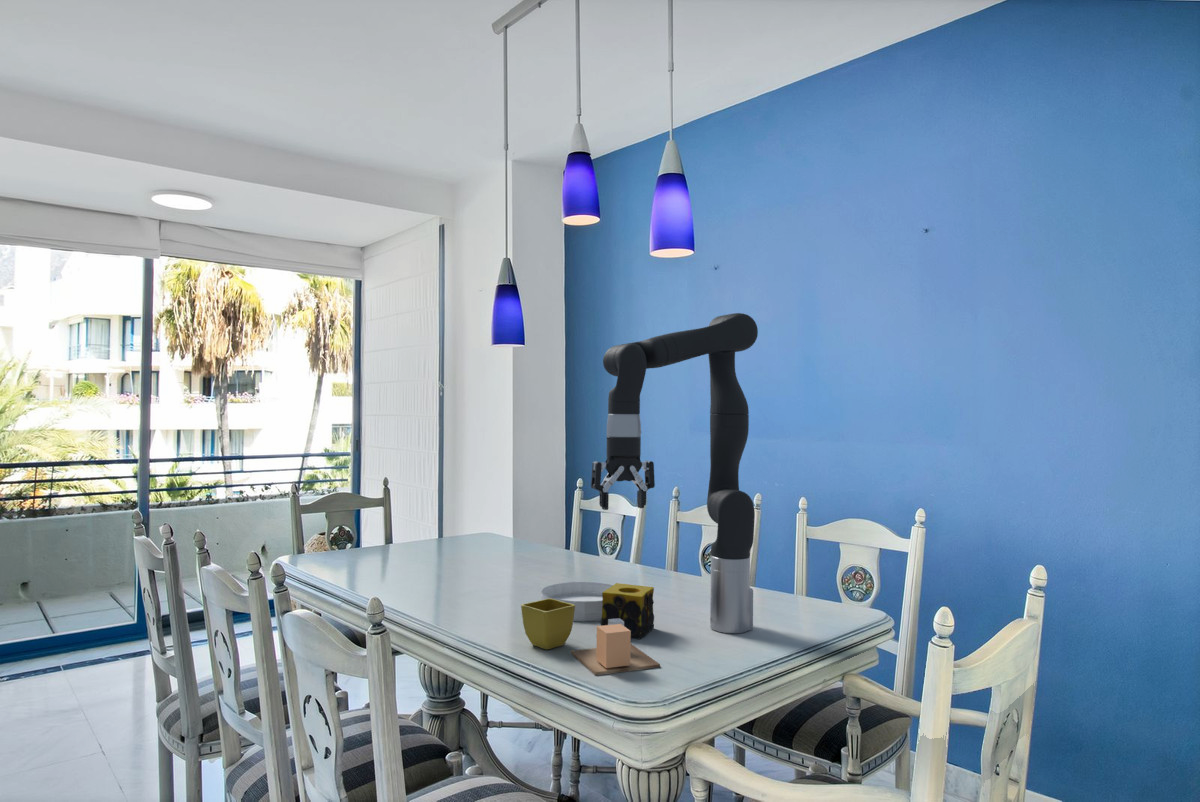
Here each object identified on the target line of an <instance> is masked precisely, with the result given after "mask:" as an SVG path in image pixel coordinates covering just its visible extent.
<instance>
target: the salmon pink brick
mask: <svg viewBox="0 0 1200 802" xmlns="http://www.w3.org/2000/svg"><path fill="white" fill-rule="evenodd" d="M631 639H632V638H631V631H630V630H629V629H627V628H626V627H624V626H623V625H621V624H614V625H604V626H601V625H596V648H597V653H596V660H597V661H598V662H599V663H601V664H602V665H603V666H604V667H605V668H612V667H620V666H628V665H630V651H631V644H632V643H631Z"/></svg>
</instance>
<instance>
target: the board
mask: <svg viewBox="0 0 1200 802" xmlns="http://www.w3.org/2000/svg"><path fill="white" fill-rule="evenodd" d="M570 652H571V653H570V654H571V655H572V656H573V657H574V658H576V659H577V661H579V663H581V664H582V665H583V666H584V667H585V668H586V669H588V671H589V672H590V673H592V674H593V675H594V676H603V675H609V674H617V673H626V672H634V671H641V670H647V669H657V668H660V667H661V663H659V662H658V661H656V660H655V659H653V658H652V657H650V656H649V655H648V654H647V653H645V652H643V651H642V650H640V649H639V648H638V647H637V646H636V645H633V644H632V643H631V651H630V665H628V666H620V667H612V668H605V667H604V666H603V665H602V664H601V663H599V662H598V661H597V660H596V653H597V647H594V648H584V649H575V650H571V651H570Z"/></svg>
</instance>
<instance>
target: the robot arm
mask: <svg viewBox="0 0 1200 802" xmlns="http://www.w3.org/2000/svg"><path fill="white" fill-rule="evenodd" d="M758 329H759V328H758V325H757V322H756V321H755V320H754V318H753V317H752V316H750V315H749V314H746V313H742V312H735V313H728V314H723V315H719V316H716V317H714V318H713V319H712V320H711V321H710V322H709V325H708V326H703V327H701V328H693V329H688V330H687V329H686V330H682V331H674V332H670V333H669V332H668V333H664V334H660V335H657V336H654V337H650V338H647V339H644V340H641V341H634V342H633V341H632V342H629V343H623V344H617V345H614V346H611V347H610V348H608V349H607V350H606V352H605V353H604V355H603V357H602V358H603V359H602V365H603V367H604V369H605V371H606V372H607V373H608V374H609V375H611V376H613V377H617V378H616V384H615V386H614V387H613V388H612V389H610V390H609V392H608V399H607V401H608V404H607V405H608V406H607V408H608V409H607V423H606V460H605V462H604V461H603V462H601V461H596V460H595V461H593V462H592V463H591V464H592V466H591V480H590V481H591V482H590V487H591V489H593V490H596V491H598V493H599V501H598V502H599V506H600V507H601V510H604V511H608V510H609V502H610V501H609V500H610V499H609V497H610V495H609V492H608V491H609V490H610V488H611V486H612V485H614V484H615V483H616V482H623V481H625V482H632V483H633V484H634V485H635V487H636V488H637V489H638V490H637V491H636V495H637V496H636V507H637V508H638V509H644V508H645V506H646V505H647V492H648V490H650V489H654V488H655V486H656V484H655V483H656V481H655V463H654V461H652V460H645V461H641V455H642V453H641V450H642V449H641V446H642V443H641V442H642V441H641V440H642V439H641V438H642V422H641V415H640V414H641V413H640V411H641V393H642V390H643V386H644V381H645V377H646V372H647V369H648V370H649V369H658V368H659V369H660V368H664V367H667V366H670V365H674V364H678V363H682V362H684V361H687V360H688V361H689V360H691V359H695V358H698V357H700V356H705V355H708V364H709V374H710V375H709V377H710V379H709V383H710V384H709V385H710V386H709V388H710V390H709V391H710V392H709V393H710V404H709V405H710V408H709V409H710V410H709V433H710V434H709V435H710V437H709V438H710V441H709V443H710V445H709V446H710V447H709V449H710V450H709V459H710V467H709V469H710V470H709V471H710V472H709V481H708V491H707V499H706V501H707V502H706V509H707V514H708V515H709V517H710V519H711V520H712V521H713V522H714V523H715V524H717V531H716V532H717V535H716V539H715V541H714V542H712V543H711V544H710V545H711V546H710V611H709V614H710V619H709V622H710V625H709V627H710V629H711V630H713V631H716V632H720V633H725V634H741V633H742V634H743V633H746V632H748V631H751V630H753V629H754V589H753V588H751V577H750V576H751V550H752V547H753V544H754V538H755V535H754V534H755V517H756V515H755V505H754V502H753V499H752V498H751V496H750V495H749V494H747V493H746V492H745V491H742V490H740V484H739V470H740V463H741V460H742V456H743V454H744V450H745V448H746V444H747V441H748V437H749V427H750V426H749V425H750V424H749V421H750V420H749V417H750V416H749V413H750V412H749V405H748V401H747V398H746V396H745V393H744V391H743V389H742V387H741V385H740V382H739V380H738V378H737V373H736V353H738V352H743V351H744V352H745V351H746V350H748V349H750V348H752V347H753V345H755V343H756V341H757V339H758V333H759V332H758V331H759V330H758ZM641 469H642V470H643V472H644V480H643V478H642V476H641V474H640V473H639V472H640V471H641ZM604 470H606V471H607V474H606V475H605V476H604V478H603V480H602V472H603V471H604ZM601 481H602V482H601Z"/></svg>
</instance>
